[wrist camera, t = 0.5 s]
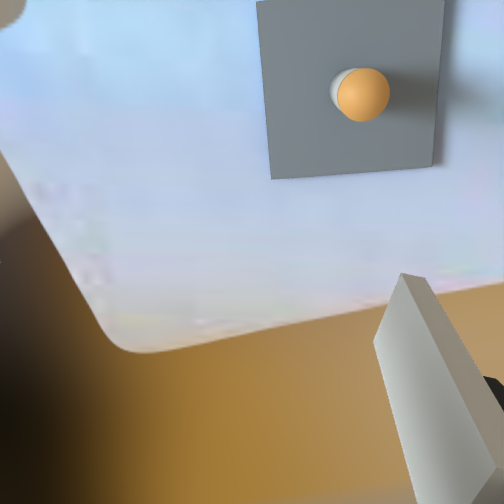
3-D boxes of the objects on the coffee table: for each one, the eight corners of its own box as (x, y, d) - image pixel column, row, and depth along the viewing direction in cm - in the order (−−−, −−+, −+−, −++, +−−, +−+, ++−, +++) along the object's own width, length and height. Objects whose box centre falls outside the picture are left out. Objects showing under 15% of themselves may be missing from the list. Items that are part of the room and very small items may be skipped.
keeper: (257, 3, 32) (243, -18, 24) (442, -22, 30) (496, -55, 22) (271, 176, 38) (265, 207, 29) (428, 164, 36) (467, 193, 28)
